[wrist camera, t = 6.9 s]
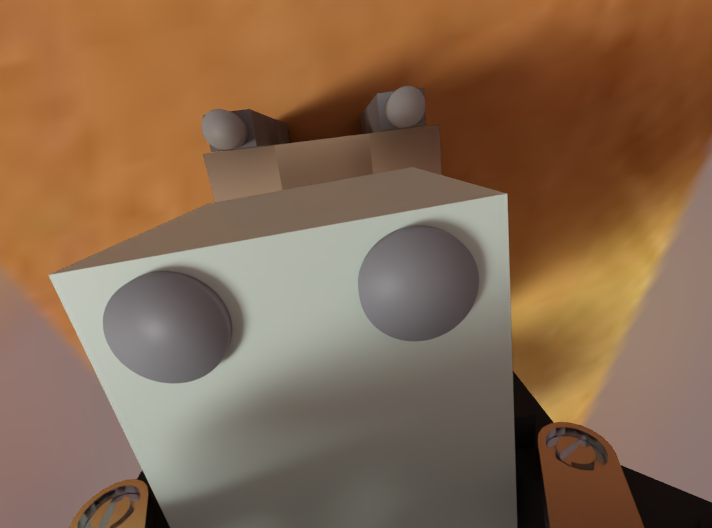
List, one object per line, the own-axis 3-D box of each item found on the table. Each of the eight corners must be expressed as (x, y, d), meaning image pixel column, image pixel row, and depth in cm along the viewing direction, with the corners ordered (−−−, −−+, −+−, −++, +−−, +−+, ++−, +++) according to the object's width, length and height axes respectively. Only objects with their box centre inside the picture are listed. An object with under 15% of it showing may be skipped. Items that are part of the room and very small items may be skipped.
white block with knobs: (208, 203, 10) (-9, 301, 4) (412, 167, 10) (541, 203, 4) (298, 501, 14) (266, 800, 8) (447, 475, 14) (541, 754, 8)
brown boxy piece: (239, 129, 21) (153, 117, 11) (406, 109, 21) (468, 78, 11) (286, 350, 26) (254, 477, 16) (421, 332, 26) (473, 448, 16)
